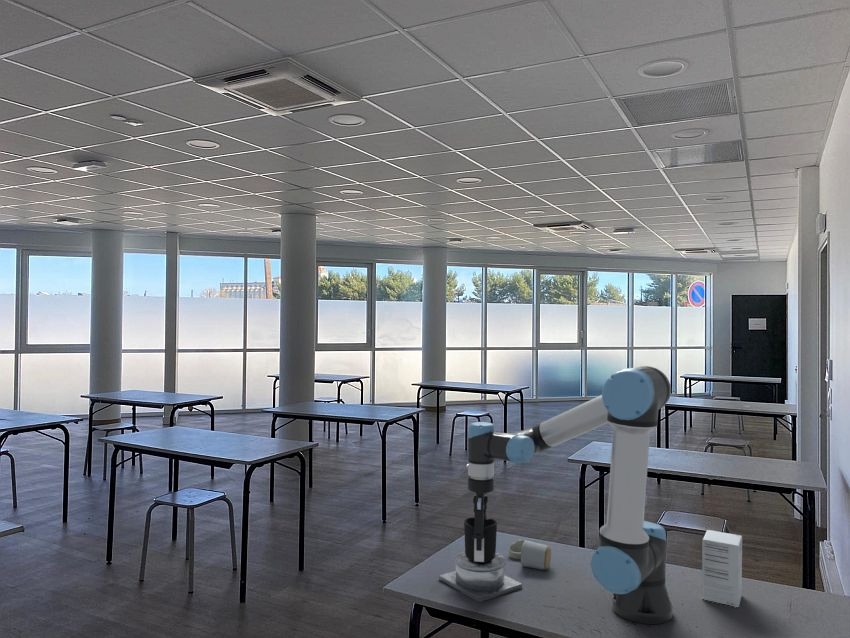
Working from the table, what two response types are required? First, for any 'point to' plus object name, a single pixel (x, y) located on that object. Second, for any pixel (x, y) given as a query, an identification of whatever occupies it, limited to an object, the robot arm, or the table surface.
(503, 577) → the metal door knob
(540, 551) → the ceramic mug
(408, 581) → the table surface
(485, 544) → the pen holder
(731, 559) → the supplement box
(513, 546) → the beige oval ring
